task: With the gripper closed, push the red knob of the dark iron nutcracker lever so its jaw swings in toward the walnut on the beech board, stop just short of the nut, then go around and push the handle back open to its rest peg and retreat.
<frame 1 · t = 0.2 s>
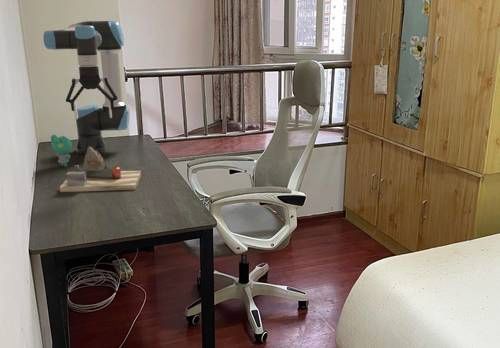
hand: (93, 118, 205), 27 cm above the table, fingers open, 13 cm apart
rock: (94, 171, 227), on the table
toy: (64, 166, 234), on the table
lever: (100, 172, 210), point 4 cm above the table, hinge at 12.0°
board: (102, 183, 210), on the table
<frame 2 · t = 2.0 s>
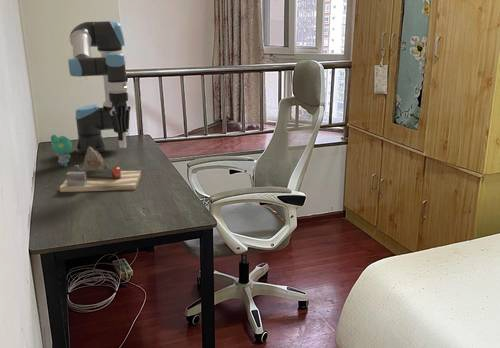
hand: (123, 147, 212), 14 cm above the table, fingers closed
nothing on the table moved.
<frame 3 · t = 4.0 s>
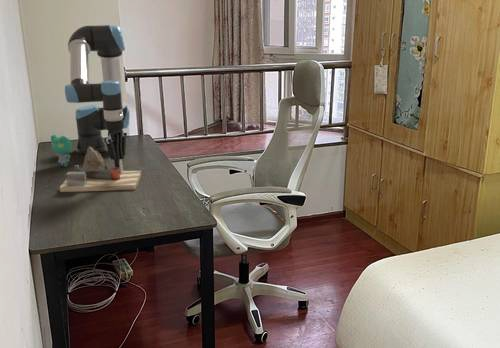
hand: (119, 173, 210), 4 cm above the table, fingers closed
lever: (99, 172, 209), point 4 cm above the table, hinge at 16.1°, touching gripper
everything else where it was.
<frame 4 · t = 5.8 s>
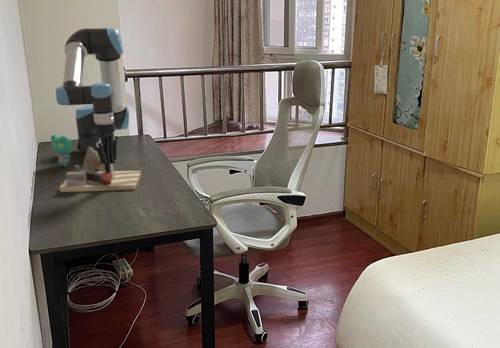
hand: (110, 178, 205), 3 cm above the table, fingers closed
lever: (94, 175, 206), point 4 cm above the table, hinge at 36.0°, touching gripper
everything else where it was.
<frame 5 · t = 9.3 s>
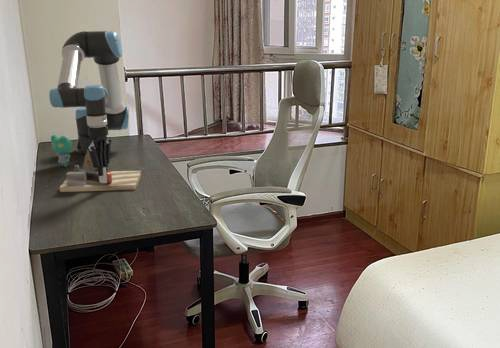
hand: (103, 182, 201), 3 cm above the table, fingers closed
lever: (94, 175, 206), point 4 cm above the table, hinge at 34.7°, touching gripper
everything else where it was.
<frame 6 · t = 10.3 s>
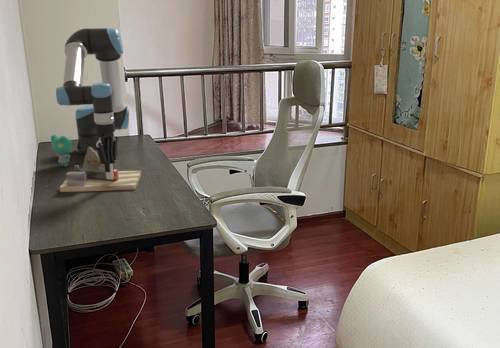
hand: (110, 178, 205), 3 cm above the table, fingers closed
lever: (98, 173, 208), point 4 cm above the table, hinge at 20.6°, touching gripper
everything else where it was.
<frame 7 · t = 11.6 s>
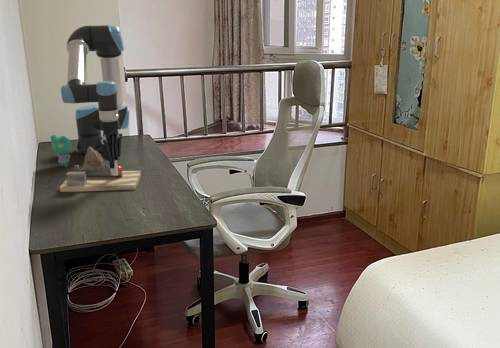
hand: (114, 174, 209), 4 cm above the table, fingers closed
lever: (101, 171, 211), point 4 cm above the table, hinge at 5.1°, touching gripper
everything else where it was.
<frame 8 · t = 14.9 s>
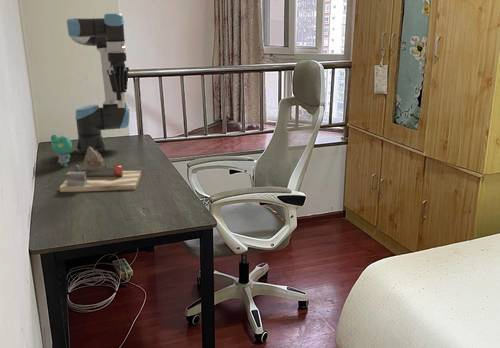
hand: (121, 107, 216), 29 cm above the table, fingers closed
lever: (101, 171, 211), point 4 cm above the table, hinge at 3.4°
everything else where it was.
at the end: lever at +3° (first picture: +12°) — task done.
